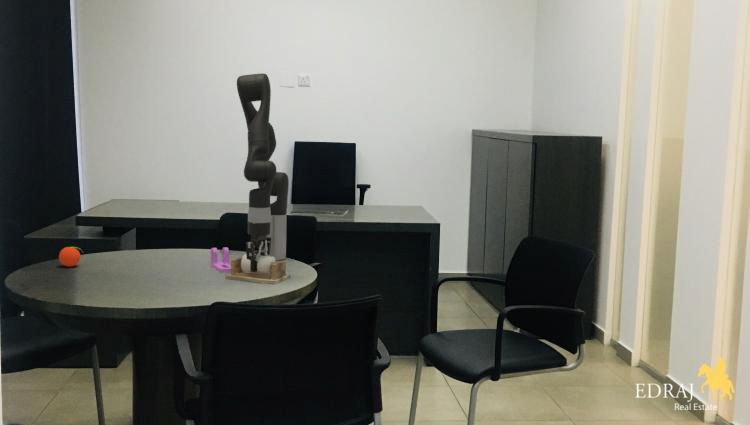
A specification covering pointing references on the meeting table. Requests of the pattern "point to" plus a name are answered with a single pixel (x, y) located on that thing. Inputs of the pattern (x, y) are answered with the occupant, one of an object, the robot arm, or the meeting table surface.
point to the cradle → (276, 276)
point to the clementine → (69, 256)
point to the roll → (259, 264)
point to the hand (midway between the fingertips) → (258, 269)
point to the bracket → (223, 265)
